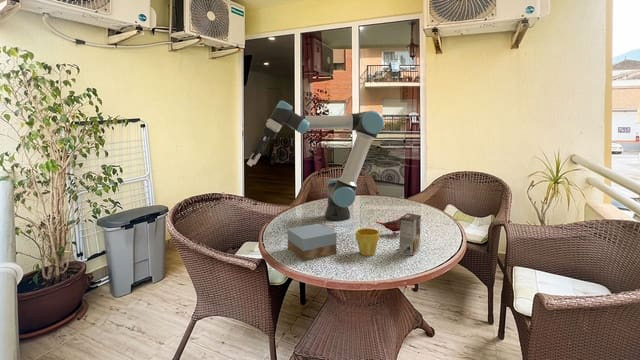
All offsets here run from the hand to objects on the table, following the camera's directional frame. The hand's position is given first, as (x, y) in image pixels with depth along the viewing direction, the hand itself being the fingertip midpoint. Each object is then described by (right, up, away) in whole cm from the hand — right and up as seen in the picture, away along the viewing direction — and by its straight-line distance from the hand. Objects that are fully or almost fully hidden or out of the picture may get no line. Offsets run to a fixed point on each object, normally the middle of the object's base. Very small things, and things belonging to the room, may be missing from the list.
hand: (250, 164), depth 180 cm
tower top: (+32, -35, -27) cm, 55 cm away
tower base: (+32, -40, -26) cm, 58 cm away
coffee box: (+75, -40, -28) cm, 90 cm away
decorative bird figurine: (+73, -36, -4) cm, 81 cm away
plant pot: (+57, -40, -29) cm, 75 cm away
